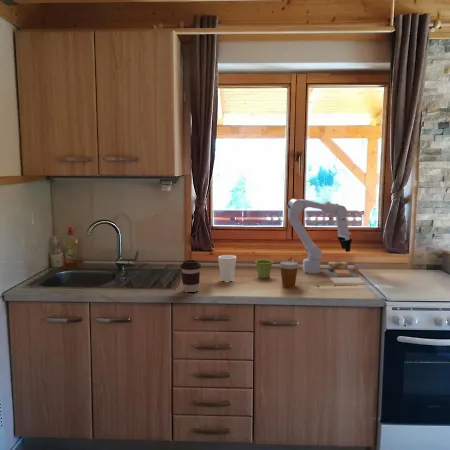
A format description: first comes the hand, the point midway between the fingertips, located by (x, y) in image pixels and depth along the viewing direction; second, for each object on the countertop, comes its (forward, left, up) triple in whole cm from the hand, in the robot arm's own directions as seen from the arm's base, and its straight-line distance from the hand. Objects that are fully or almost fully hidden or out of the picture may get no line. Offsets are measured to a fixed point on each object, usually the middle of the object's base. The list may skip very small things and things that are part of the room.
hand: (346, 250), depth 262 cm
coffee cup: (-85, -34, -13) cm, 92 cm away
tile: (-5, -10, -12) cm, 16 cm away
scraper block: (-5, 0, -12) cm, 12 cm away
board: (-5, -12, -13) cm, 18 cm away
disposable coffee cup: (-36, -26, -13) cm, 46 cm away
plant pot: (-47, -8, -13) cm, 49 cm away
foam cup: (-67, -15, -13) cm, 69 cm away
